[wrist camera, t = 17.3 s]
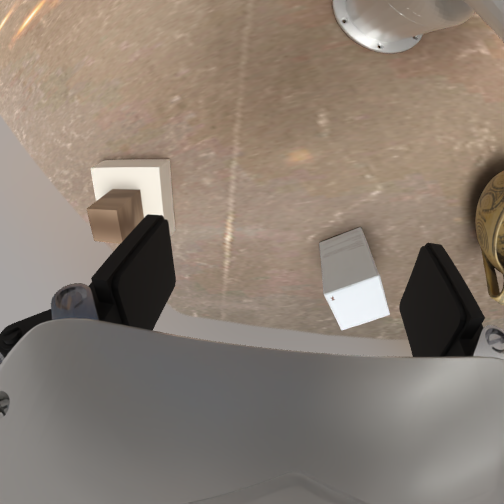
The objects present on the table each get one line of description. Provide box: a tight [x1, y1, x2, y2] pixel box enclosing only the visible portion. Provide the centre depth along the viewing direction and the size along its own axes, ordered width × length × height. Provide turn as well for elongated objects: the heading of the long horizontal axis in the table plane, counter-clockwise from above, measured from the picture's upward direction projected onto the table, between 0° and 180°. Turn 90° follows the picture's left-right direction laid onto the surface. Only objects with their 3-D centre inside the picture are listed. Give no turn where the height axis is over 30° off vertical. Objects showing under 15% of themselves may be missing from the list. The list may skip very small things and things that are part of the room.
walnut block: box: [87, 189, 144, 244], centre depth 40 cm, size 5×5×7 cm
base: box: [91, 159, 176, 237], centre depth 45 cm, size 12×12×4 cm
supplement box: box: [319, 227, 390, 330], centre depth 42 cm, size 7×7×13 cm
